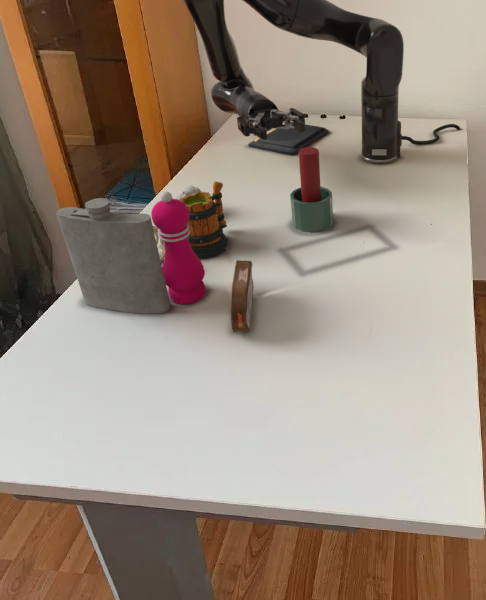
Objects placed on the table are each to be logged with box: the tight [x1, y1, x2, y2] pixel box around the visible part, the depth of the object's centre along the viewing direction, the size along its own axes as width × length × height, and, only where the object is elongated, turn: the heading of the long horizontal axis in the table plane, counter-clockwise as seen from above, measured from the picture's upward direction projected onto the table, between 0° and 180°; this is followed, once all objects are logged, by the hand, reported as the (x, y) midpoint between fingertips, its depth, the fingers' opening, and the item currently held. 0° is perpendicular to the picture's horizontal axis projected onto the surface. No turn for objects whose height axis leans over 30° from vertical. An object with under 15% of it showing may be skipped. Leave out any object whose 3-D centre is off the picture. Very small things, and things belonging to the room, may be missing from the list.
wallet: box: [248, 121, 330, 156], centre depth 175 cm, size 20×2×15 cm
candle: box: [298, 146, 322, 203], centre depth 129 cm, size 4×4×16 cm
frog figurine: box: [176, 185, 202, 200], centre depth 135 cm, size 6×7×7 cm
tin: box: [230, 259, 254, 333], centre depth 104 cm, size 15×3×8 cm, turn 5°
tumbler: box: [289, 186, 334, 233], centre depth 132 cm, size 9×9×7 cm
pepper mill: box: [150, 191, 207, 305], centre depth 106 cm, size 7×7×20 cm
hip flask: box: [55, 197, 172, 314], centre depth 103 cm, size 16×4×20 cm, turn 79°
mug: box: [180, 180, 229, 260], centre depth 124 cm, size 13×10×12 cm
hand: (284, 132), depth 133 cm, fingers open, 8 cm apart
